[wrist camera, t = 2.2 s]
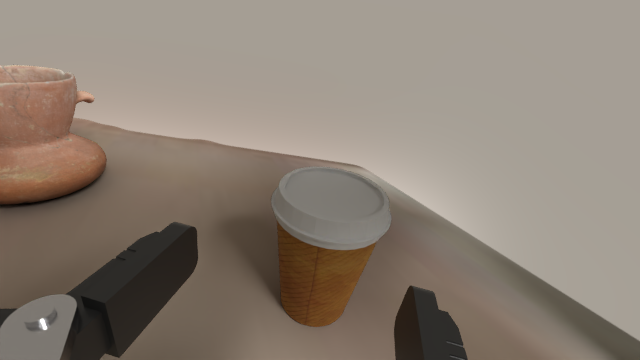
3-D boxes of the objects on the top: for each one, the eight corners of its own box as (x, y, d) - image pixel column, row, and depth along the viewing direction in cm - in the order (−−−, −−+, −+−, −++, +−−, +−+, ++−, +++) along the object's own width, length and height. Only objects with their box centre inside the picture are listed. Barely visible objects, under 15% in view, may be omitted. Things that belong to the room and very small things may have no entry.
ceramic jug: (75, 152, 45) (47, 60, 38) (142, 176, 41) (124, 77, 35) (-109, 203, 29) (-209, 62, 23) (-28, 247, 26) (-119, 95, 19)
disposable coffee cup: (307, 249, 32) (323, 156, 27) (378, 297, 27) (414, 195, 22) (241, 296, 25) (245, 183, 20) (321, 372, 20) (354, 249, 15)
